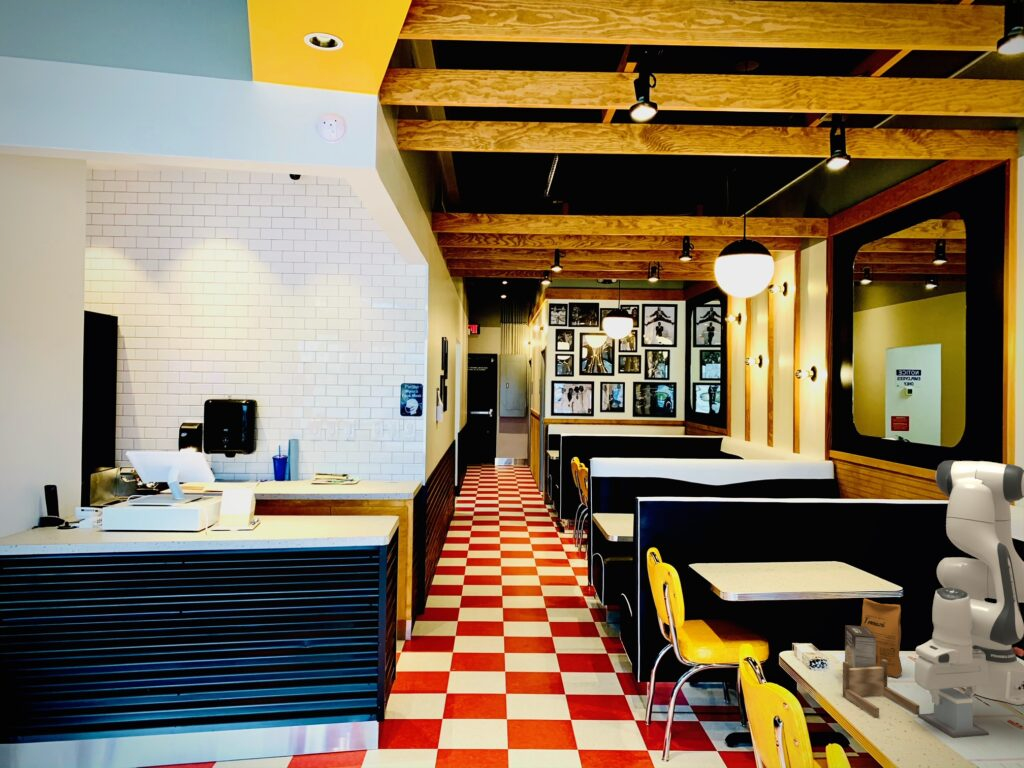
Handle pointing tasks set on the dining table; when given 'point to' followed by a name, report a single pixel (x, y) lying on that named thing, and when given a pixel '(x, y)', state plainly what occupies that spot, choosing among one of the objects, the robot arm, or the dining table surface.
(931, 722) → the mat
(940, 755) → the dining table surface
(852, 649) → the coffee box
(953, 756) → the dining table surface
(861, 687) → the wooden stand
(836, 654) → the dining table surface
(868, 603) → the coffee package
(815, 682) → the dining table surface
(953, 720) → the block
